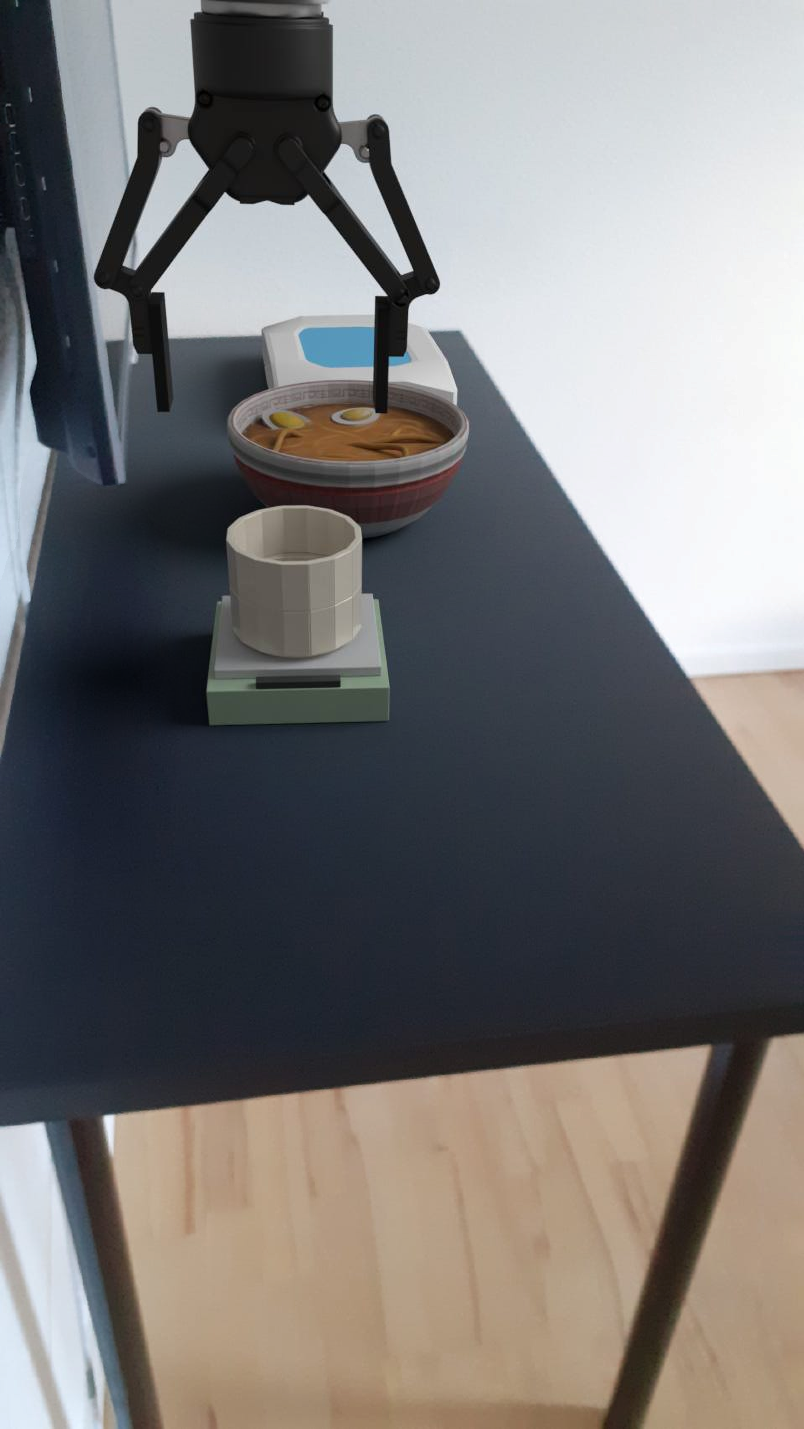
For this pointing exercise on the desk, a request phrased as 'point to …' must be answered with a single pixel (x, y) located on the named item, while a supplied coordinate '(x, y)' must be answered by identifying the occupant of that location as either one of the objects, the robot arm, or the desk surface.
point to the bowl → (349, 450)
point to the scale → (298, 678)
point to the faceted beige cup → (295, 580)
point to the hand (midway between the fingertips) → (273, 406)
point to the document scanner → (350, 354)
